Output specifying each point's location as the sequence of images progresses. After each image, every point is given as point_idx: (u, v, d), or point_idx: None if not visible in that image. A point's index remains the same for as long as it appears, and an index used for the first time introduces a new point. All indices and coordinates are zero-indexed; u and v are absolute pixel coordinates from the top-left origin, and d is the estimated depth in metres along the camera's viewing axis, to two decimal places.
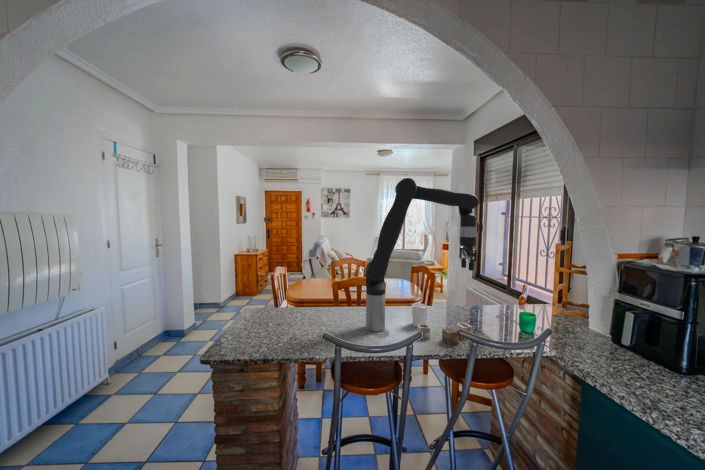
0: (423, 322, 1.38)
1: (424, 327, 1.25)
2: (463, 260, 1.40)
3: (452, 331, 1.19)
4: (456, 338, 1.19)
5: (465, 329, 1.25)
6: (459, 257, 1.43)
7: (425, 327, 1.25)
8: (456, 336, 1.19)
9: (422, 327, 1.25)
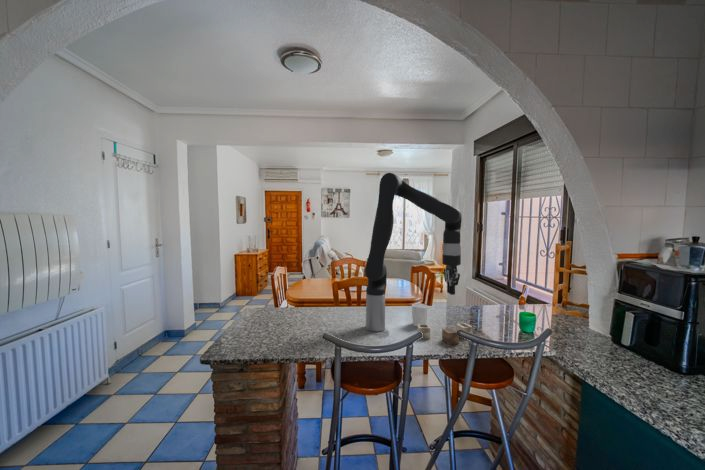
0: (423, 322, 1.38)
1: (424, 327, 1.25)
2: (449, 284, 1.21)
3: (452, 331, 1.19)
4: (456, 338, 1.19)
5: (465, 329, 1.25)
6: (445, 280, 1.24)
7: (425, 327, 1.25)
8: (456, 336, 1.19)
9: (422, 327, 1.25)
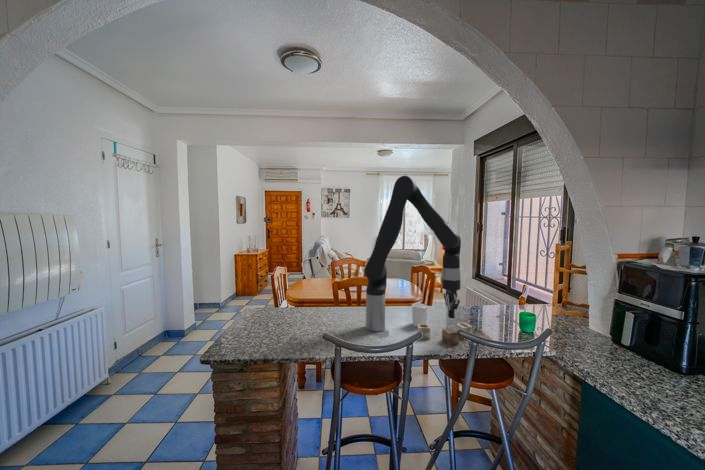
0: (423, 322, 1.38)
1: (424, 327, 1.25)
2: None
3: (452, 331, 1.19)
4: (456, 338, 1.19)
5: (465, 329, 1.25)
6: (446, 304, 1.23)
7: (425, 327, 1.25)
8: (456, 336, 1.19)
9: (422, 327, 1.25)
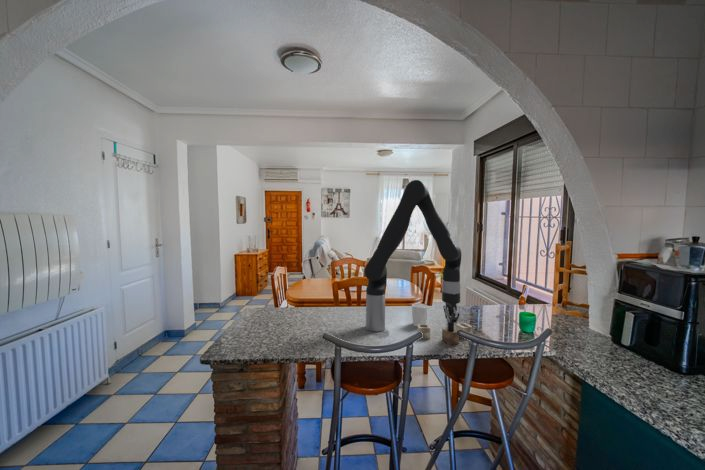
0: (423, 322, 1.38)
1: (424, 327, 1.25)
2: None
3: (452, 331, 1.19)
4: (456, 338, 1.19)
5: (465, 329, 1.25)
6: None
7: (425, 327, 1.25)
8: (456, 336, 1.19)
9: (422, 327, 1.25)
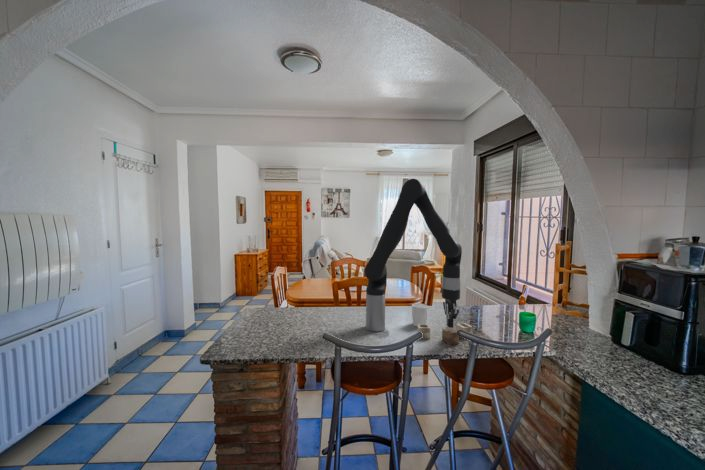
0: (423, 322, 1.38)
1: (424, 327, 1.25)
2: None
3: (452, 331, 1.19)
4: (456, 338, 1.19)
5: (465, 329, 1.25)
6: (445, 313, 1.23)
7: (425, 327, 1.25)
8: (456, 336, 1.19)
9: (422, 327, 1.25)
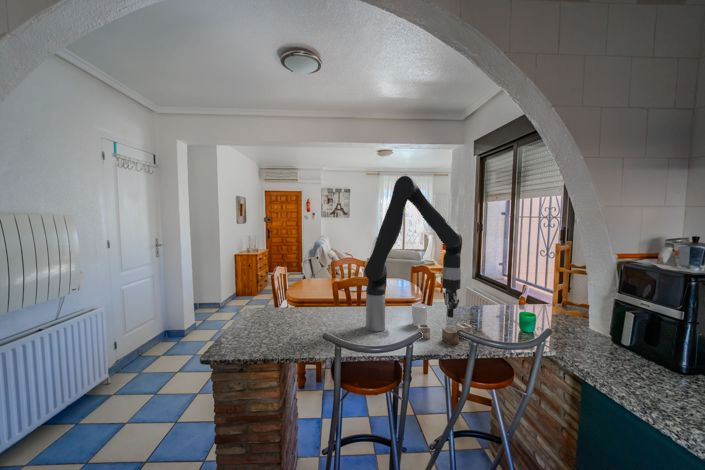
0: (423, 322, 1.38)
1: (424, 327, 1.25)
2: None
3: (452, 331, 1.19)
4: (456, 338, 1.19)
5: (465, 329, 1.25)
6: (445, 303, 1.23)
7: (425, 327, 1.25)
8: (456, 336, 1.19)
9: (422, 327, 1.25)
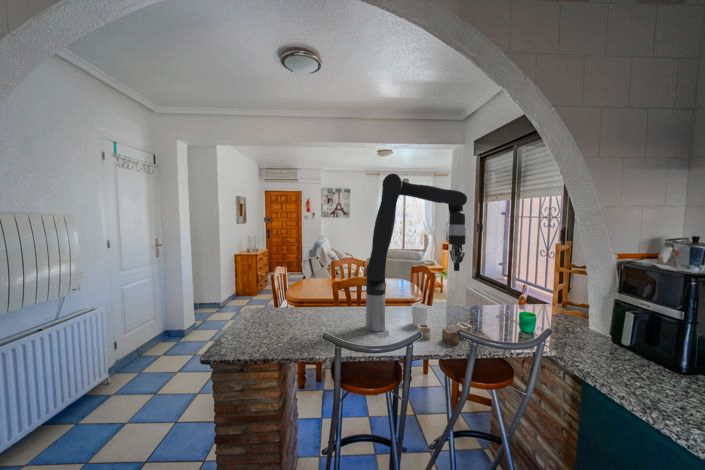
0: (423, 322, 1.38)
1: (424, 327, 1.25)
2: None
3: (452, 331, 1.19)
4: (456, 338, 1.19)
5: (465, 329, 1.25)
6: None
7: (425, 327, 1.25)
8: (456, 336, 1.18)
9: (422, 327, 1.25)
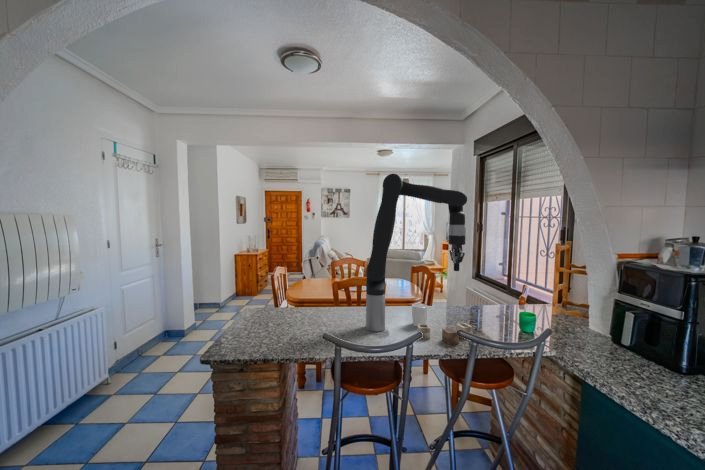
0: (423, 322, 1.38)
1: (424, 327, 1.25)
2: None
3: (452, 331, 1.19)
4: (456, 338, 1.19)
5: (465, 329, 1.25)
6: (451, 259, 1.34)
7: (425, 327, 1.25)
8: (456, 336, 1.19)
9: (422, 327, 1.25)
